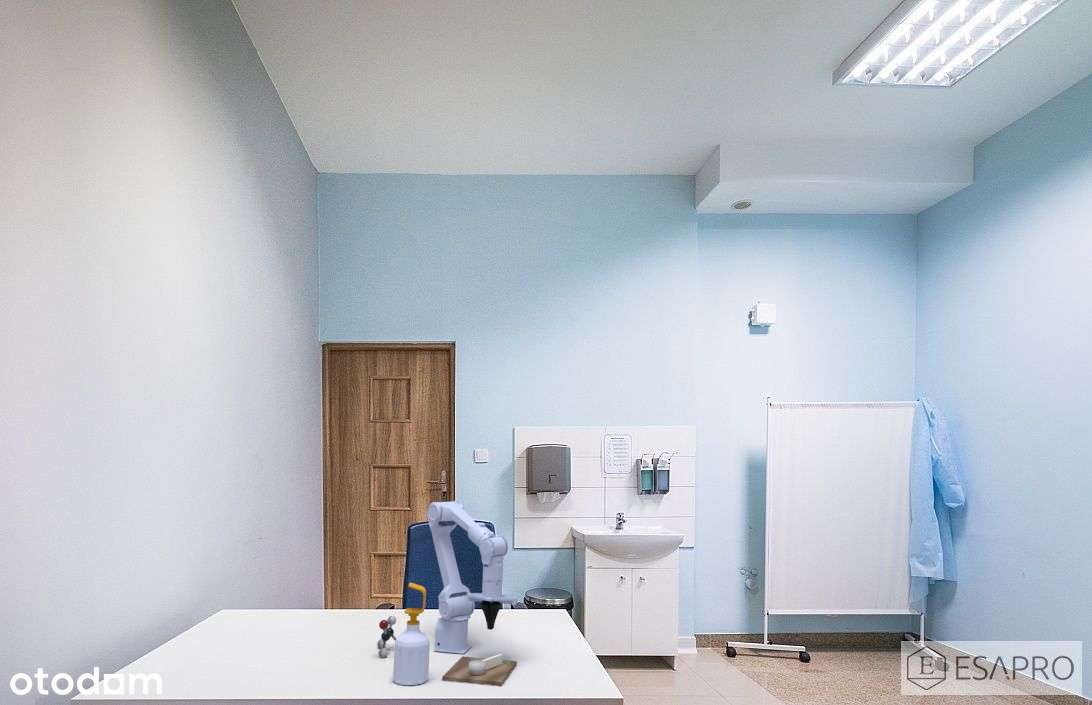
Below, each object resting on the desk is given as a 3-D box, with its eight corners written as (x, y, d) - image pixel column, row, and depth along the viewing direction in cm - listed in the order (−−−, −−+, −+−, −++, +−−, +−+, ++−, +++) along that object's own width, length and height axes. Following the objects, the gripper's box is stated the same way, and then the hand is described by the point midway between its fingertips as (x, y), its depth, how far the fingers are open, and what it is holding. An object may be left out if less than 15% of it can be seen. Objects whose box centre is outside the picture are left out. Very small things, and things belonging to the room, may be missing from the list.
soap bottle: (395, 674, 195) (399, 580, 198) (429, 674, 196) (433, 580, 198) (390, 686, 186) (395, 587, 189) (426, 686, 187) (431, 587, 189)
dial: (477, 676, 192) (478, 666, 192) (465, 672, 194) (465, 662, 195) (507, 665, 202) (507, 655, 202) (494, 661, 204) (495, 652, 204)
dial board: (442, 680, 191) (442, 675, 191) (462, 659, 209) (462, 655, 209) (501, 686, 188) (501, 681, 188) (516, 664, 206) (516, 660, 206)
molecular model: (405, 648, 219) (407, 611, 220) (395, 660, 207) (397, 621, 208) (378, 646, 219) (380, 610, 220) (366, 659, 207) (369, 620, 208)
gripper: (464, 580, 207) (462, 630, 206) (513, 584, 204) (511, 634, 203) (471, 576, 214) (469, 623, 213) (519, 579, 211) (517, 628, 210)
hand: (490, 628), depth 208 cm, fingers closed
